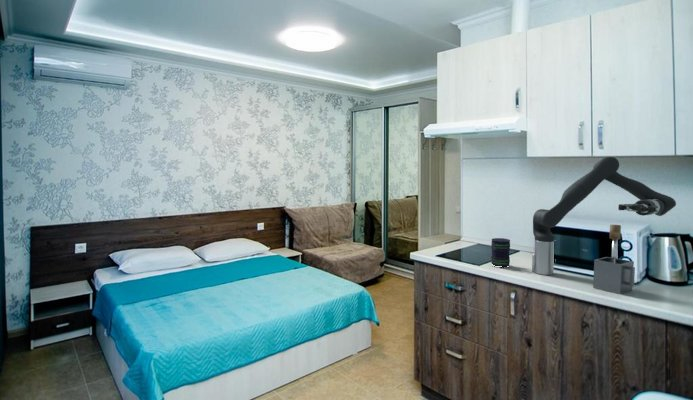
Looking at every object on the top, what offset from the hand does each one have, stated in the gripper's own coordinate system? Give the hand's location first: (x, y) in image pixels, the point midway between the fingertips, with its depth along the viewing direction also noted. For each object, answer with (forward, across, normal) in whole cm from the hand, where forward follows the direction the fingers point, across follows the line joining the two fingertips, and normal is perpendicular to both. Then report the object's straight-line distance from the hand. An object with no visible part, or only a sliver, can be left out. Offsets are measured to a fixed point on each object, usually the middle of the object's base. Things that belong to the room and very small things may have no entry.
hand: (630, 208), depth 180 cm
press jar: (+11, +1, +36) cm, 38 cm away
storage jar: (+18, -55, +36) cm, 68 cm away
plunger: (+12, 0, +29) cm, 31 cm away
